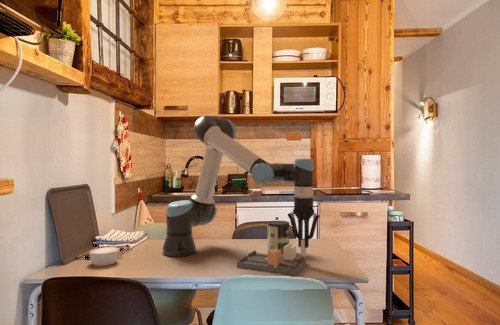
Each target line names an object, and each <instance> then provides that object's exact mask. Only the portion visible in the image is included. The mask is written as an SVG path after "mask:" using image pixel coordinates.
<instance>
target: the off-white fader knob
mask: <svg viewBox="0 0 500 325" xmlns="http://www.w3.org/2000/svg"><path fill="white" fill-rule="evenodd" d="M295 258H297V245H296V244H295V245H294V244H289V245H286V246H284V247H283V260H291V261H293V260H294V259H295Z"/></svg>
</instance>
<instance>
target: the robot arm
mask: <svg viewBox="0 0 500 325" xmlns="http://www.w3.org/2000/svg"><path fill="white" fill-rule="evenodd" d="M193 132H194V135H195V137H196V138H197V139H198V140H199V141H200V142H201V143H203V144H204V147H205V150H204V155H203V158H202V164H201V168H200V172H199V176H198V179H197V180H198V181H197V184H196V189H195V193H194V194H192V195H191V197H190V200H187V199H184V200H176V201H173V202H170V203H168V204H167V205H166V212H165V215H166V237H165V239H164V244H163V246H162V254H163V255H164V256H167V257H175V258H176V257H186V256H191V255H194V254H196V252H197V246H196V243H195V240H194V236H193V228H194V227H199V226H206V225H207V224H209V223H212V222H213V221H214V220H215V218H216V216H217V206H216V204H215V199H214V198H213V197H214V192H215V188H216V183H217V180H218V175H219V172H220V167H221V163H222V159H223V156H225V157H227V159H229V160H230V161H232V162H233V163H234V164H236V165H237V166H239V167H241V169H244V170H245V171H246V172H248V173H249V174H250V175H251V177H252V179H253V181H254V182H255V183H257V184H263V185H264V184H271V183H279V182H289V183H290V182H291V183H292V182H293V184H294V188H293V191H294V192H293V193H294V194H293V195H294V196H295V197H294V200H293V201H294V202H293V206H294V207H293V211H291V212H289V213H288V214H287V216H288V218H289V220H290V224H291V230H292V234H293V237H294V238H295V239H298V243H297V244H298V247H299V248H300V257H302V256H304V257H306V256H307V249H308V248H309V242H310V241H309V240H312V239H313V238H314V235H315V231H316V227H317V223H318V220H319V218H320V214H317V213H316V212H315V209H314V198H313V197H314V160H313V159H311V158H295V159H294V161H293V163H284V162H283V163H278V162H274V163H271V162H270V163H269V162H267V161H266V160H265V159H263V158H261V157H260V156H259V155H257V154H256V153H254V152H253V151H251V150H250V149H248V147H245V146H244V145H242V144H241V143H239V142H238V141H236V140H235V137H236V135H237V134H236V132H237V130H236V127H235V124H234V123H233V122H232V120H230V119H227V118H225V117H220V116H213V115H203V116H200V117H199V118H197V120H196V121H195V123H194V125H193ZM295 217H296V218H297V223H296V219H295ZM311 218H312V222H311V228H310V219H311ZM303 224H304V225H303ZM303 226H304V228H303ZM303 230H304V234H303ZM303 237H304V238H303Z"/></svg>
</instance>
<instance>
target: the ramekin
mask: <svg viewBox="0 0 500 325" xmlns="http://www.w3.org/2000/svg"><path fill="white" fill-rule="evenodd" d="M119 251H120V250H119V248H118V247H113V246H111V247H110V246H109V247H108V246H107V247H99V248H95V249H92V250H89V256H90V261H91V265H93V266H96V267H103V266H109V265H113V264H115V263H116V262H117V261H118V257H119V256H118V255H119Z"/></svg>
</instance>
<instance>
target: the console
mask: <svg viewBox="0 0 500 325" xmlns="http://www.w3.org/2000/svg"><path fill="white" fill-rule="evenodd" d="M306 264H307V258H305V256H300V257H296V258H295V259H294V260H293V261H291V260H283V256H282V263H280V264H279V265H278V266H274V265H268V253H261V252H257V250H253V251H251V252H249V253H248V254H247V255H244V256H242V257H241V258H239V259H238V261H237V262H236V268H238V269H239V268H240V269H246V270H254V271H262V272H269V273H276V274H283V275H290V276H296V275H297V274H298V273H299V272H300V271H301V270H302V269H303V268H304V267H305V266H306Z"/></svg>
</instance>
